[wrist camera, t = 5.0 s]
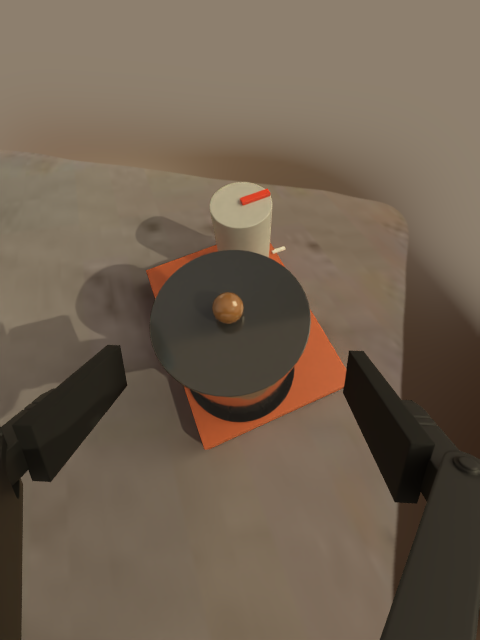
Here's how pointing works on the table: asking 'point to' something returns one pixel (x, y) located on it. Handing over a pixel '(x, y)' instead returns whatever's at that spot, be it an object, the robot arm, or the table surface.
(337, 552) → the table surface
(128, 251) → the table surface
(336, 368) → the hot plate
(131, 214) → the table surface
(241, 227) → the hob knob
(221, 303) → the enamel pot
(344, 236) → the table surface
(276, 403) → the burner
